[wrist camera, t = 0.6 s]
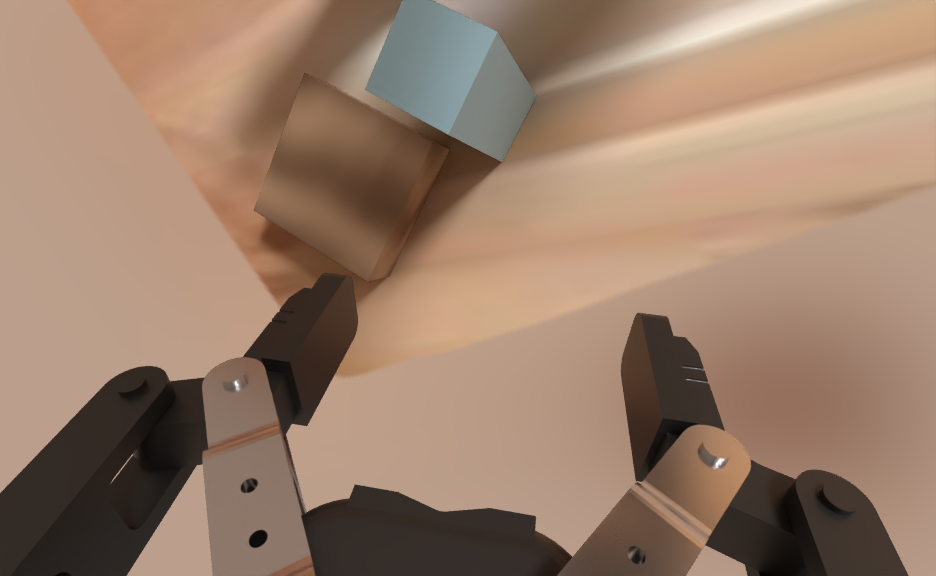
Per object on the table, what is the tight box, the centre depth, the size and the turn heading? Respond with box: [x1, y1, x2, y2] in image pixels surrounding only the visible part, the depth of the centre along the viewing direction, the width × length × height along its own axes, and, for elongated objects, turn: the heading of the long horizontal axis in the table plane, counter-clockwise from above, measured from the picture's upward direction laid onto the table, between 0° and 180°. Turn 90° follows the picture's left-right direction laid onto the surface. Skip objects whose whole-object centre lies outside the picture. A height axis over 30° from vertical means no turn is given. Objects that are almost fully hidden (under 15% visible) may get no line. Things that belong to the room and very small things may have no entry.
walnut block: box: [254, 73, 450, 282], centre depth 36 cm, size 11×11×4 cm
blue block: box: [365, 0, 536, 162], centre depth 28 cm, size 5×5×12 cm
